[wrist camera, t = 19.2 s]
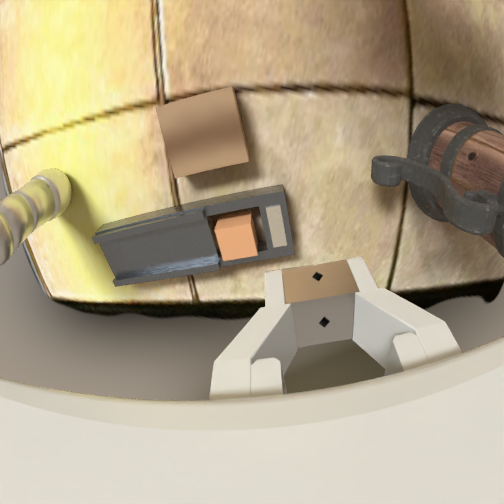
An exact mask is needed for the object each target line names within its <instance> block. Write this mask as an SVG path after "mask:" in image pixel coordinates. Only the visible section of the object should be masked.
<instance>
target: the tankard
mask: <svg viewBox="0 0 504 504" xmlns="http://www.w3.org/2000/svg"><path fill="white" fill-rule="evenodd" d="M371 178H372V180H373V182H375V183H376V184H379V185H382V186H397V185H399V184H400V179H401V180H404V181H407V182H408V184H409V188H410V191H411V194H412V197H413V198H414V200H415V202H416V204H417V205H418V207H419V208H420V209H421V210H422V211H423V212H424V213H425V214H426V215H428V216H429V217H431V218H432V219H435V220H438V221H442V222H450V223H451V224H452V225H454V226H455V227H457V228H458V229H461V230H463V231H465V232H468V233H471V234H475V235H480V236H481V237H483V238H484V239H485V240H486V241H488V242H489V243H490V244H491V245H493V246H494V247H495V248H496V249H497V250H498V251H499V253H500V254H501V255H502V256H503V257H504V135H503V134H502V133H500V132H499V131H498V130H495V129H493V128H490V127H488V126H487V124H486V123H485V121H484V120H483V119H482V118H481V117H480V116H479V115H478V114H477V113H476V112H475V111H473V110H472V109H470V108H469V107H466V106H463V105H461V104H447V105H442V106H440V107H438V108H436V109H434V110H432V111H431V112H430V113H429V114H427V115H426V116H425V117H424V118H423V120H422V121H421V122H420V124H419V125H418V126H417V128H416V130H415V132H414V134H413V136H412V139H411V142H410V146H409V149H408V156H407V159H406V158H401V157H396V156H376V157H374V158H373V159H372V170H371Z"/></svg>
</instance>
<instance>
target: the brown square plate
mask: <svg viewBox="0 0 504 504" xmlns="http://www.w3.org/2000/svg"><path fill="white" fill-rule="evenodd" d="M156 112H157V116H158V119H159V123H160V127H161V130H162V134H163V138H164V141H165V145H166V149H167V152H168V156H169V159H170V163H171V166H172V169H173V173H174V176H175V178H179V177H183V176H187V175H191V174H195V173H199V172H203V171H208V170H212V169H216V168H221V167H225V166H230V165H235V164H240V163H245V162H249V152H248V147H247V143H246V138H245V134H244V129H243V125H242V121H241V116H240V112H239V107H238V103H237V99H236V94H235V90H234V88H233V87H228V88H224V89H220V90H216V91H212V92H208V93H204V94H200V95H196V96H193V97H189V98H186V99H182V100H179V101H175V102H172V103H169V104H166V105H163V106H160V107H157V108H156Z"/></svg>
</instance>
